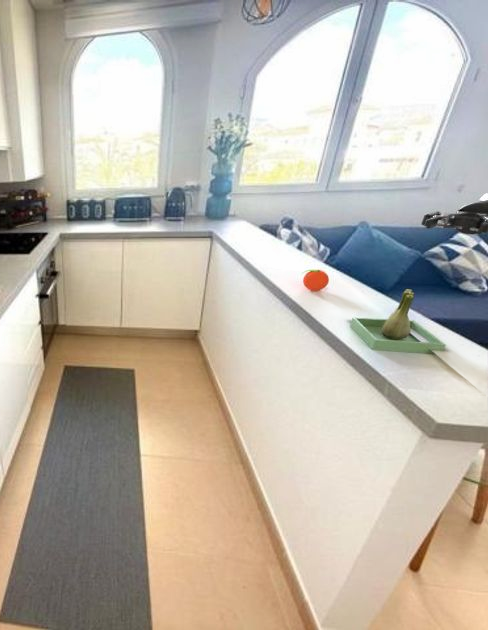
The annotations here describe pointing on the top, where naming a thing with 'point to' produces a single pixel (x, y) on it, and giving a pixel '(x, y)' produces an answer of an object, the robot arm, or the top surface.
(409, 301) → the fennel bulb
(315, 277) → the tomato
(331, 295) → the top surface
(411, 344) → the green tray
